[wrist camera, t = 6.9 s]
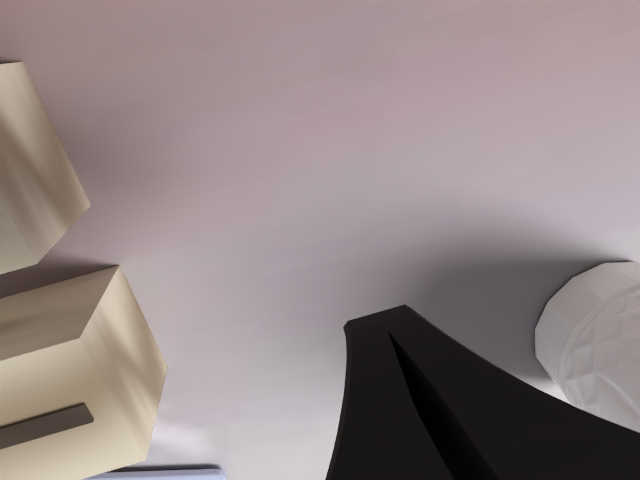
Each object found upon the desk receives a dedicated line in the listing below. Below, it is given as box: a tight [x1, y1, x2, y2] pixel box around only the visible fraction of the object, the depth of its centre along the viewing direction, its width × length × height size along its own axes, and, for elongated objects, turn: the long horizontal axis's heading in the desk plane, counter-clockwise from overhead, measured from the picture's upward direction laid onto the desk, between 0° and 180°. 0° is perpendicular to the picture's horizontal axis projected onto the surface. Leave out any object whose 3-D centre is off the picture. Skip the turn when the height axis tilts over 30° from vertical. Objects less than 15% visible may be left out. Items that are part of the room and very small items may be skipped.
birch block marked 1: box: [0, 265, 168, 480], centre depth 17 cm, size 5×5×5 cm
